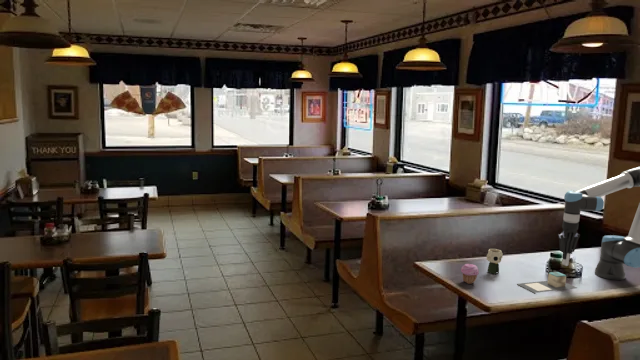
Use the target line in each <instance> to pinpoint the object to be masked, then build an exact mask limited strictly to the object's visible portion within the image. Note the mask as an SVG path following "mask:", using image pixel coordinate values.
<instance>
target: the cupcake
mask: <svg viewBox="0 0 640 360" xmlns="http://www.w3.org/2000/svg"><path fill="white" fill-rule="evenodd" d="M460 271H461V273H462V280H463V282H464V283H466V284H469V285H471V284H474V283H475V281H476V280H477V277H478V275H479V271H480V270H479V268H478V266H477V265H476V264H473V263H465V264H464V265H462V266H461V270H460Z"/></svg>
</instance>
